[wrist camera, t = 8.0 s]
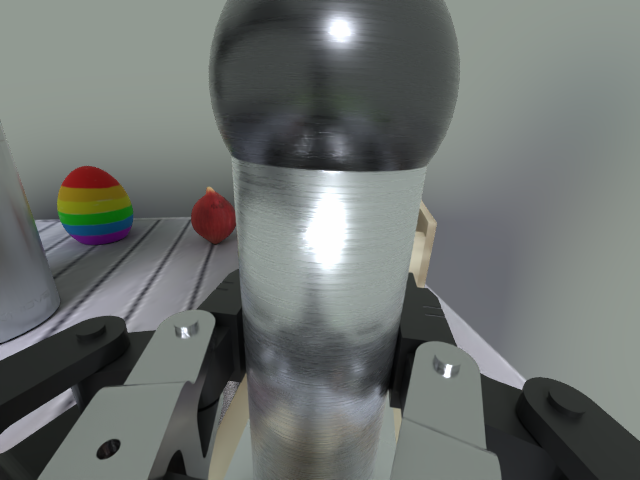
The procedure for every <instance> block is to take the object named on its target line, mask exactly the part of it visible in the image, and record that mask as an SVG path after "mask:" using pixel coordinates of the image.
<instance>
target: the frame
mask: <svg viewBox="0 0 640 480" xmlns="http://www.w3.org/2000/svg"><path fill="white" fill-rule="evenodd" d="M436 225H437V223H436V221H435V220H434V218H433V217H432V215H431V214H430V212H429V211H428V209H427V208H426V206H425V205H424V203H423V202H422V200H421V203H420V209H419V215H418V221H417V226H416V232H415V238H414V244H413V250H412V255H411V261H410V267H409V272H412V273H413V275H414V278H415V281H416V285H417V287H420V288H424V286H425V281H426V276H427V271H428V266H429V260H430V256H431V250H432V246H433V241H434V236H435V231H436ZM393 413H394V425H395V438H396V446H397V441H398V436H399V431H400V426H401V421H402V418H401V409H398V408H393ZM248 419H249V404H248V390H247V375H246V374H245V376H244V378H243V380H242V382H241V383H240V385H239V387H238V389H237V391H236V393H235V395H234V397H233V399H232V401H231V403H230V405H229V407H228V409H227V411H226V413H225V415H224V417H223V419H222V421H221V423H220V425H219V427H218V429H217V434H216V439H215V443H214V448H213V453H212V458H211V462H210V467H209V475H208V480H224V477H225V475H226V472H227V470H228V468H229V465H230V463H231V460H232V458H233V455H234V453H235V451H236V448H237V446H238V443H239V441H240V438H241V436H242V434H243V431H244V429H245V426H246V424H247V421H248Z"/></svg>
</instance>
